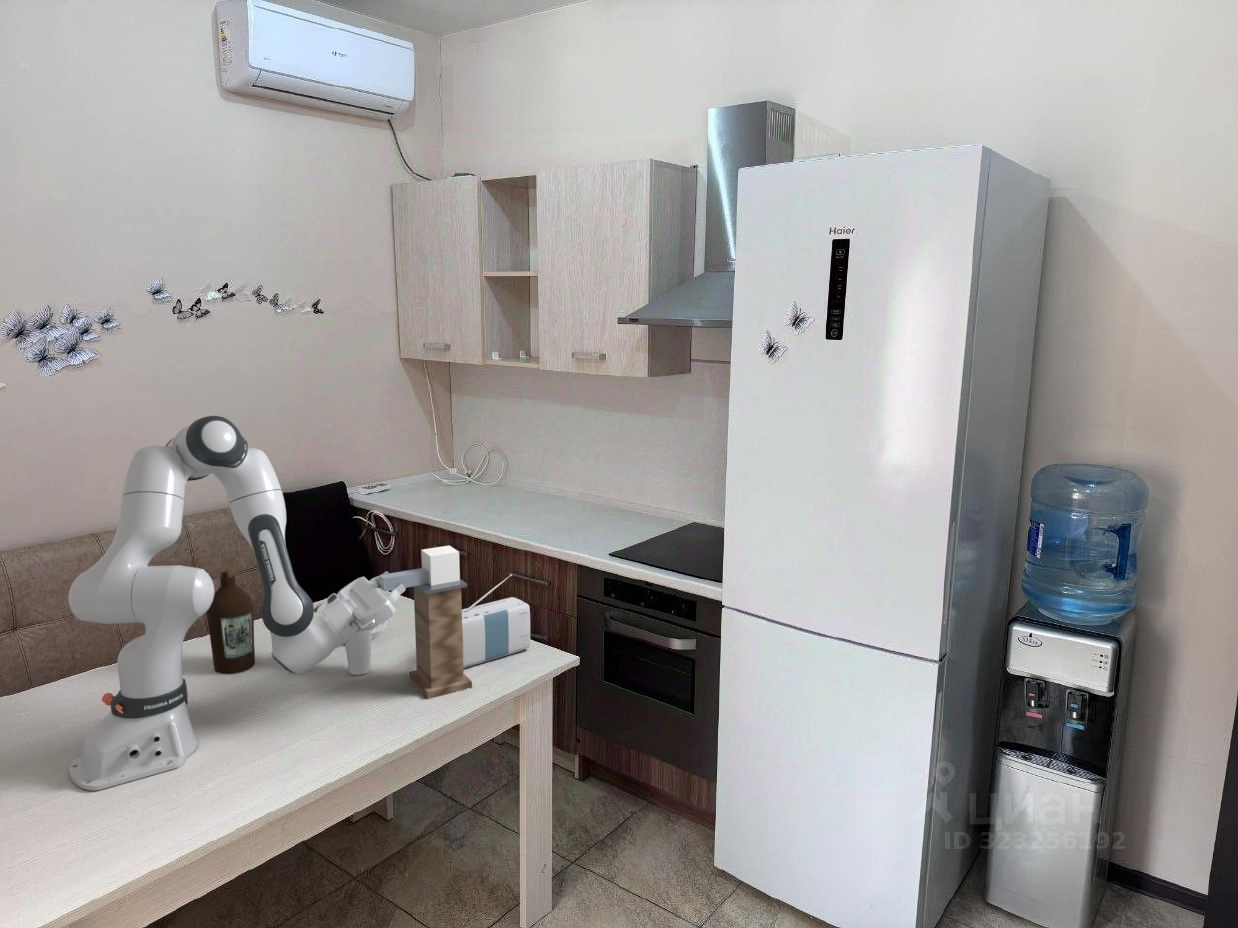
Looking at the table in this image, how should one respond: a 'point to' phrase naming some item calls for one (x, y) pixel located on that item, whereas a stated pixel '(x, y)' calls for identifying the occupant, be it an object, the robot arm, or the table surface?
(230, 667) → the olive oil
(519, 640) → the stereo radio cassette player
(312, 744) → the table surface
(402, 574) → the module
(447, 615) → the stand
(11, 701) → the table surface
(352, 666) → the drinking glass
